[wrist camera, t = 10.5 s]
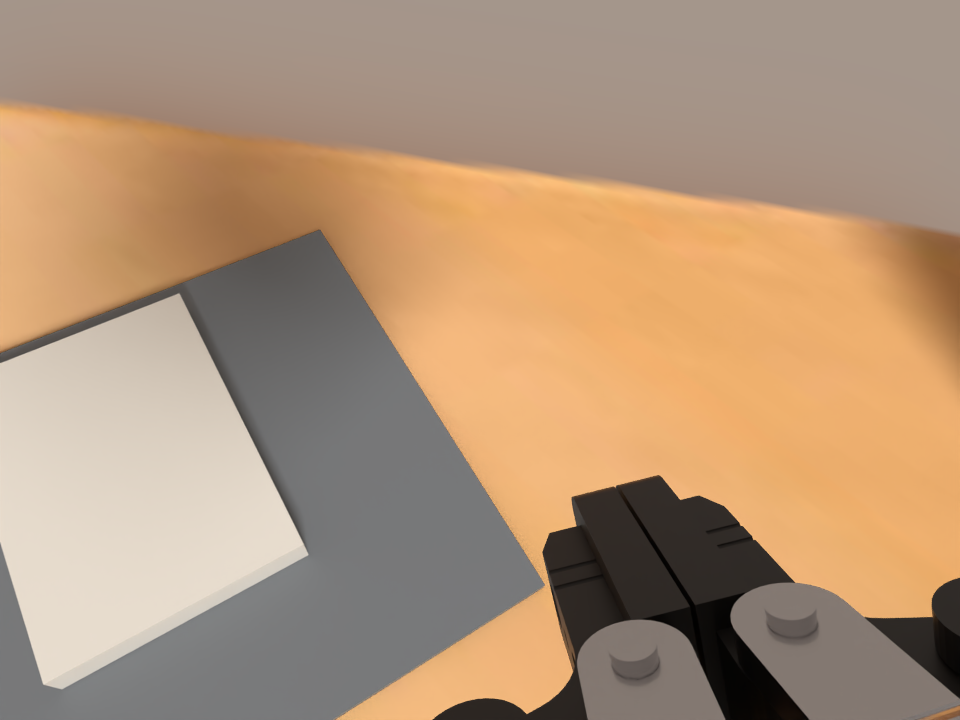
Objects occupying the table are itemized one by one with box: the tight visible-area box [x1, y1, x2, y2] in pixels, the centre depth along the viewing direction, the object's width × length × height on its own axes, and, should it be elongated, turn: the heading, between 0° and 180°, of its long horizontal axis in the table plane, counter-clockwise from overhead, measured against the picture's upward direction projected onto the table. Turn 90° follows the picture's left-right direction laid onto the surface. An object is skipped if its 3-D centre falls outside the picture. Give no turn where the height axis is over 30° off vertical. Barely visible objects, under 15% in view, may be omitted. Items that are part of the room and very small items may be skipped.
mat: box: [0, 230, 545, 720], centre depth 31 cm, size 22×22×1 cm
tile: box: [0, 294, 308, 689], centre depth 31 cm, size 10×2×14 cm
